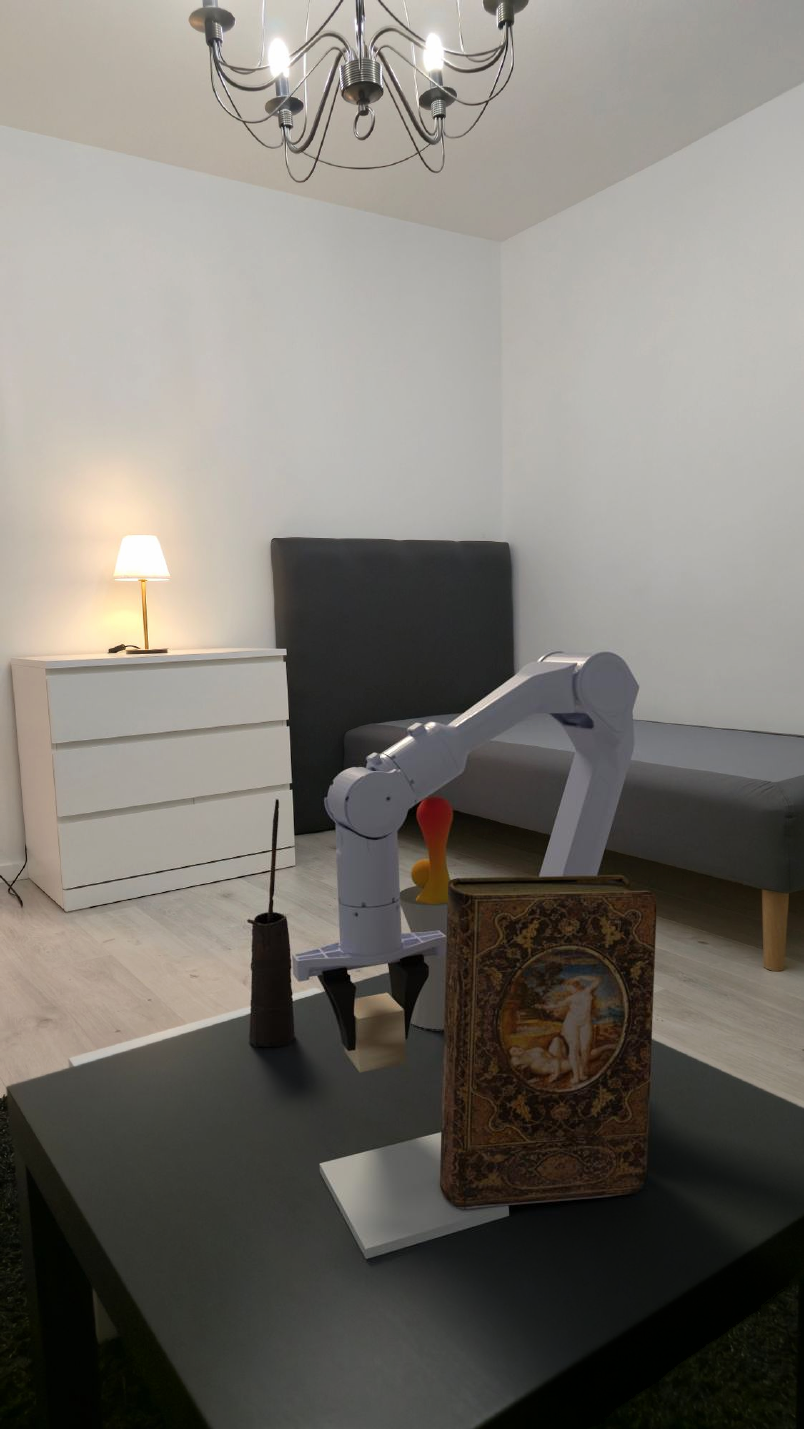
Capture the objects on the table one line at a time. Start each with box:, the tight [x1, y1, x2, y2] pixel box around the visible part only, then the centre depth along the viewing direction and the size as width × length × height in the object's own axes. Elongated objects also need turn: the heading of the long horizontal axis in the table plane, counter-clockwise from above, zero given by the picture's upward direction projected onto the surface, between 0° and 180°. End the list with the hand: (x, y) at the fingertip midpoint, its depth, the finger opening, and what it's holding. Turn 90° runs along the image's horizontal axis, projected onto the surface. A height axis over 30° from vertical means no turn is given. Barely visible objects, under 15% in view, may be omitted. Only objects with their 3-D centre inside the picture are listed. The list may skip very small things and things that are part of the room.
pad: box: [319, 1131, 510, 1260], centre depth 75 cm, size 12×12×1 cm
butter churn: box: [246, 798, 296, 1048], centre depth 103 cm, size 9×10×28 cm
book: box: [440, 874, 657, 1209], centre depth 74 cm, size 16×6×25 cm, turn 100°
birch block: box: [344, 992, 407, 1073], centre depth 85 cm, size 4×4×5 cm
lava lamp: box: [400, 796, 454, 1029], centre depth 108 cm, size 9×9×35 cm
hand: (374, 1040), depth 85 cm, fingers closed on birch block, 4 cm apart
